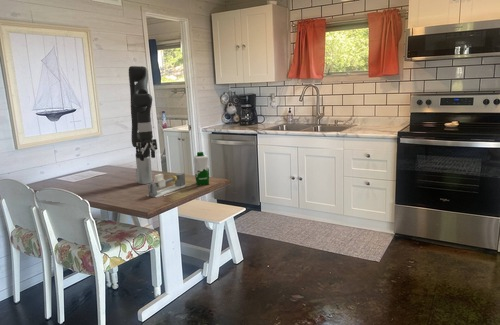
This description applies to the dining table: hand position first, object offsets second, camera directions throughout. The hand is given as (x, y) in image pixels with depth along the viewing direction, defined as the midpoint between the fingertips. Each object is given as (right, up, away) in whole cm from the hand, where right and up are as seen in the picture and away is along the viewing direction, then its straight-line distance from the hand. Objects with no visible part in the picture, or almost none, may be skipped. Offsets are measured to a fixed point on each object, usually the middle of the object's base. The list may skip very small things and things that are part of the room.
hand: (147, 159), depth 219 cm
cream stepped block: (+4, -17, +11) cm, 20 cm away
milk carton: (+27, -16, +30) cm, 44 cm away
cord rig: (+7, -19, +17) cm, 26 cm away
